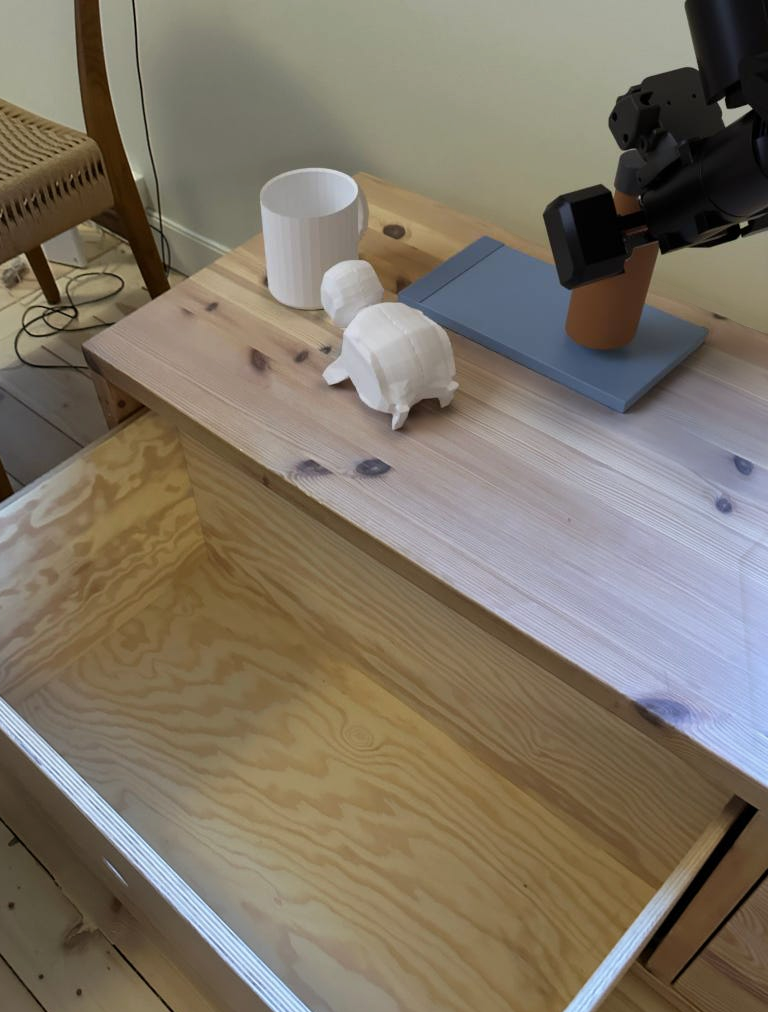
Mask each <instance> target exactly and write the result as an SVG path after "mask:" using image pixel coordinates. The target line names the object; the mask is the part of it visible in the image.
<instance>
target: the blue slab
mask: <svg viewBox="0 0 768 1012" xmlns="http://www.w3.org/2000/svg"><path fill="white" fill-rule="evenodd" d="M571 293H572V290H568V289H566V288H565V287H563V286H562V285H560V281H559V277H558V273H557V269H556V265H555V264H551V263H549V262H547V261H545V260H542V259H539V258H537V257H535V256H532V255H530V254H527V253H525V252H523V251H521V250H518V249H515V248H513V247H511V246H508V245H506V244H505V243H504V242H503V241H500V240H498V239H495V238H493V237H490V236H488V235H486V234H485V235H482V236H480V237H479V238H477V239H476V240H475V241H473V242H471V243H470V244H469V245H466V247H464V248H463V249H461V250H460V251H458V252H457V253H455V254H454V255H452V256H451V257H449V258H448V259H446V260H445V261H443V262H442V263H440V264H439V265H437V266H436V267H434V268H433V269H431V270H430V271H428V272H427V273H426V274H424V275H423V276H421V277H419V278H418V279H417V280H416V281H414V282H413V283H411V284H409V285H408V286H406V287H405V288H403V289H402V290H401V291H399V292H397V303H403V304H405V305H407V306H409V307H411V308H414V309H417V310H419V311H421V312H423V314H424V315H425V316H427V317H428V318H429V319H431V320H432V321H434V322H435V323H437V324H438V325H440V326H441V327H445V328H447V329H448V330H451V331H452V332H455V333H457V334H458V335H461V336H463V337H465V338H467V339H468V340H471V341H473V342H475V343H477V344H479V345H482V346H483V347H485V348H487V349H490V350H492V351H493V352H496V353H498V354H500V355H502V356H504V357H506V358H508V359H510V360H512V361H514V362H516V363H518V364H520V365H522V366H524V367H526V368H528V369H530V370H532V371H534V372H537V373H538V374H540V375H543V376H545V377H547V378H549V379H551V380H553V381H555V382H557V383H558V384H561V385H563V386H565V387H567V388H569V389H571V390H573V391H576V392H578V393H579V394H582V395H583V396H586V397H588V398H590V399H592V400H594V401H596V402H598V403H600V404H602V405H604V406H606V407H608V408H611V409H612V410H614V411H616V412H618V413H621V414H624V413H625V412H626V411H627V410H629V409H630V408H631V407H632V406H633V405H635V403H637V402H638V401H639V400H640V399H641V398H642V397H643V396H645V395H646V394H647V393H648V392H649V391H650V390H651V389H652V388H653V387H655V386H656V385H657V384H658V383H659V382H660V381H662V380H663V379H664V378H665V377H666V376H668V374H669V373H671V372H672V371H673V370H674V369H675V368H677V366H679V365H680V364H682V362H683V361H685V360H686V359H687V358H688V357H689V356H690V355H691V354H692V353H694V352H695V351H696V350H697V349H698V348H699V347H700V346H701V345H702V344H704V343H705V342H706V339H707V337H708V334H709V329H707V328H705V327H702V326H700V325H698V324H695V323H693V322H691V321H688V320H687V319H684V318H681V317H678V316H676V315H673V314H671V313H669V312H667V311H665V310H662V309H659V308H657V307H655V306H652V305H650V304H647V303H644V307H643V310H642V314H641V318H640V321H639V325H638V329H637V332H636V335H635V337H634V339H633V340H632V341H631V342H630V343H628V344H627V345H625V346H623V347H620V348H616V349H609V350H599V349H592V348H588V347H584V346H582V345H580V344H578V343H576V342H574V341H573V340H572V339H571V338H570V337H569V336H568V335H567V333H566V330H565V323H566V318H567V313H568V308H569V303H570V298H571Z"/></svg>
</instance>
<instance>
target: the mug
mask: <svg viewBox="0 0 768 1012" xmlns="http://www.w3.org/2000/svg"><path fill="white" fill-rule="evenodd" d="M259 203H260V213H261V224H262V233H263V234H262V235H263V245H264V254H265V255H264V256H265V265H266V276H267V287H268V290H269V292H270V294H271V295H272V297H274V299H275V300H276V301H277V302H279V303H280V304H282V305H284V306H286V307H289V308H293V309H296V310H304V311H315V310H324V308H323V305H322V302H321V285H322V281H323V277H324V274H325V273H326V272H327V271H328V270H329V269H330V268H332V267H333V266H335V265H336V264H338V263H340V262H344V261H348V260H360V259H359V258H360V257H359V253H360V251H359V244H360V242H361V241H362V240H363V237H364V236H365V233H366V232H367V230H368V227H369V218H370V209H369V203H368V199H367V196H366V194H365V192H364V190H363V189H362V187H361V185H360V184H359V183H358V182H357V181H356V180H355V179H353V178H352V177H351V176H350V175H348V174H346V173H344V172H341V171H339V170H336V169H330V168H323V167H306V168H297V169H293V170H289V171H286V172H282V173H280V174H278V175H276V176H274V177H273V178H271V179H270V180H268V181H267V182H266V183H265V184H264V185H263V186H262V188H261V189H260V192H259Z"/></svg>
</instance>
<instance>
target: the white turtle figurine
mask: <svg viewBox="0 0 768 1012" xmlns="http://www.w3.org/2000/svg"><path fill="white" fill-rule="evenodd" d="M384 293H385V289H384V287H383V285H382V283H381V282H380V280H379V276H378V275H377V272H376V271H375V269H374V267H373V265H371V263H370V262H368V261H366V260H364V259H359V260H348V261H344V262H340V263H338V264H336V265H335V266H333V267H332V268H330V269H329V270H328V271H327V272H326V273H325V274H324V277H323V281H322V285H321V302H322V305H323V308H324V309H323V310H324V311H325V313H326V314H327V315H328V316H329V317H330V318H331V321H332V323H333V325H334V326H335V327H336V328H337V329H345V330H344V331H343V334H342V335H343V336H342V338H343V339H342V346H341V354H340V355H339V356H338V358H336V359H335V360H334V361H333V362H332V363H330V364H329V365H328V366H327V367H326V369H324V371H323V373H322V374H321V375H322V378H323V379H324V381H325V382H326V384H327V385H328V386H331V385H335V384H339V383H341V382H343V381H346V380H348V379H350V380H351V382H352V384H353V386H354V387H355V389H356V392H357V393H358V395H359V399H360V400H361V402H363V403H364V404H365V405H366V406H368V407H369V408H371V409H373V410H374V411H378V412H381V413H386V414H391V415H392V420H391V421H392V422H391V428H392V430H393V431H396V430H399V429H400V428H402V427H403V425H404V422H405V421H406V420H407V419H408V417H409V412H410V409H411V408H412V407H413V405H416V404H418V403H419V402H420V401H422V400H424V399H425V400H426V399H435V398H437V399H438V400H439V404H440V408H441V409H442V408H444V407H445V408H446V406H449V405H450V404H451V402H452V400H453V398H454V396H455V395H454V393H455V392H456V391H457V389H458V388H459V385H460V384H459V383H458V382H457V381H455V378H456V362H455V357H454V351H453V348H452V342H451V340H450V337H449V336H448V333H447V331H446V330H445V329H444V328H443V326H442V325H440V324H438V323H436V322H434V321H432V320H431V319H429V318H428V317H427V316H425V315H424V314H423V312H421V311H419V310H417V309H414V308H411V307H409V306H407V305H405V304H403V303H398V302H391V301H390V302H389V301H387V302H382V301H383V298H384Z"/></svg>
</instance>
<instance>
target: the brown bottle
mask: <svg viewBox="0 0 768 1012" xmlns="http://www.w3.org/2000/svg"><path fill="white" fill-rule="evenodd" d="M645 164H647V162H645V161H644V160H643V159H642V158H641V156H640V154H639V152H638V150H637V149H630V150H627V151H623V152H622V153H621V154H620V156H619V158H618V161H617V167H616V172H615V176H614V182H613V187H614V188H615V189H614V194H613V200H614V204H615V208H616V212H617V214H621V215H622V216H624V215H628V214H631V213H635V212H638V211H642V210H643V209H642V210H641V209H640V207H639V204H638V200H637V198H638V196H639V195H641V194H642V193H646V189H645V188H644V189H639V185H638V181H637V177H636V173H635V172H636V171H637V170H638V169H640V168H641V167H643V166H644V165H645ZM647 229H648V228H644V229H641V230H637V231H634V232H630V233H627V234H626V235H627V236H628V235H630V236H631V235H632V234H634V233H635V235H636V233H638V232H642V231H646V230H647ZM659 251H660V247H659V243H658V242H656V243H653V244H649V245H646V246H643V247H639V248H636V249H634V250H633V255H632V257H631V258H630V259H629V260H627V261H625V264H624V269H625V273H624V274H621V275H618V276H614V277H611V278H608V279H604V280H601V281H599V282H595V283H592V284H589V285H585V286H582V287H579V288H575V289H572V293H571V298H570V303H569V308H568V313H567V318H566V323H565V330H566V333H567V335H568V336H569V337H570V338H571V339H572V340H573V341H574V342H576V343H578V344H580V345H582V346H584V347H588V348H592V349H599V350H609V349H616V348H620V347H623V346H625V345H627V344H628V343H630V342H631V341H632V340H633V339H634V337H635V335H636V332H637V329H638V325H639V321H640V318H641V314H642V310H643V307H644V303H645V302H646V299H647V297H648V296H647V295H648V293H649V288H650V285H651V280H652V277H653V273H654V269H655V267H656V262H657V259H658V255H659ZM645 304H646V303H645Z"/></svg>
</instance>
